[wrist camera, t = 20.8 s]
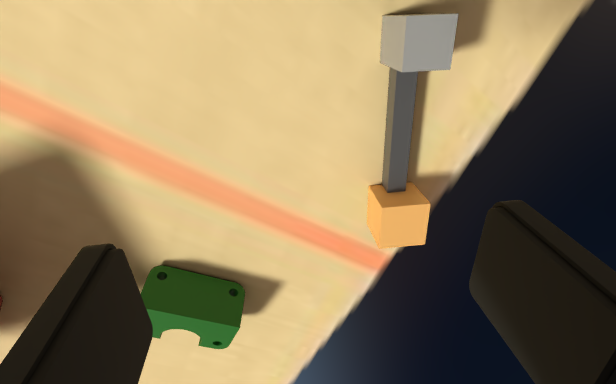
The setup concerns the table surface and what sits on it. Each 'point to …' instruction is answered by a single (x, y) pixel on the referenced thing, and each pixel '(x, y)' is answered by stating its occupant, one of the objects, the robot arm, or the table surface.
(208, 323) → the clamp
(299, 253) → the table surface
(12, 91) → the table surface
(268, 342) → the table surface
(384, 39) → the cube-ended rod
